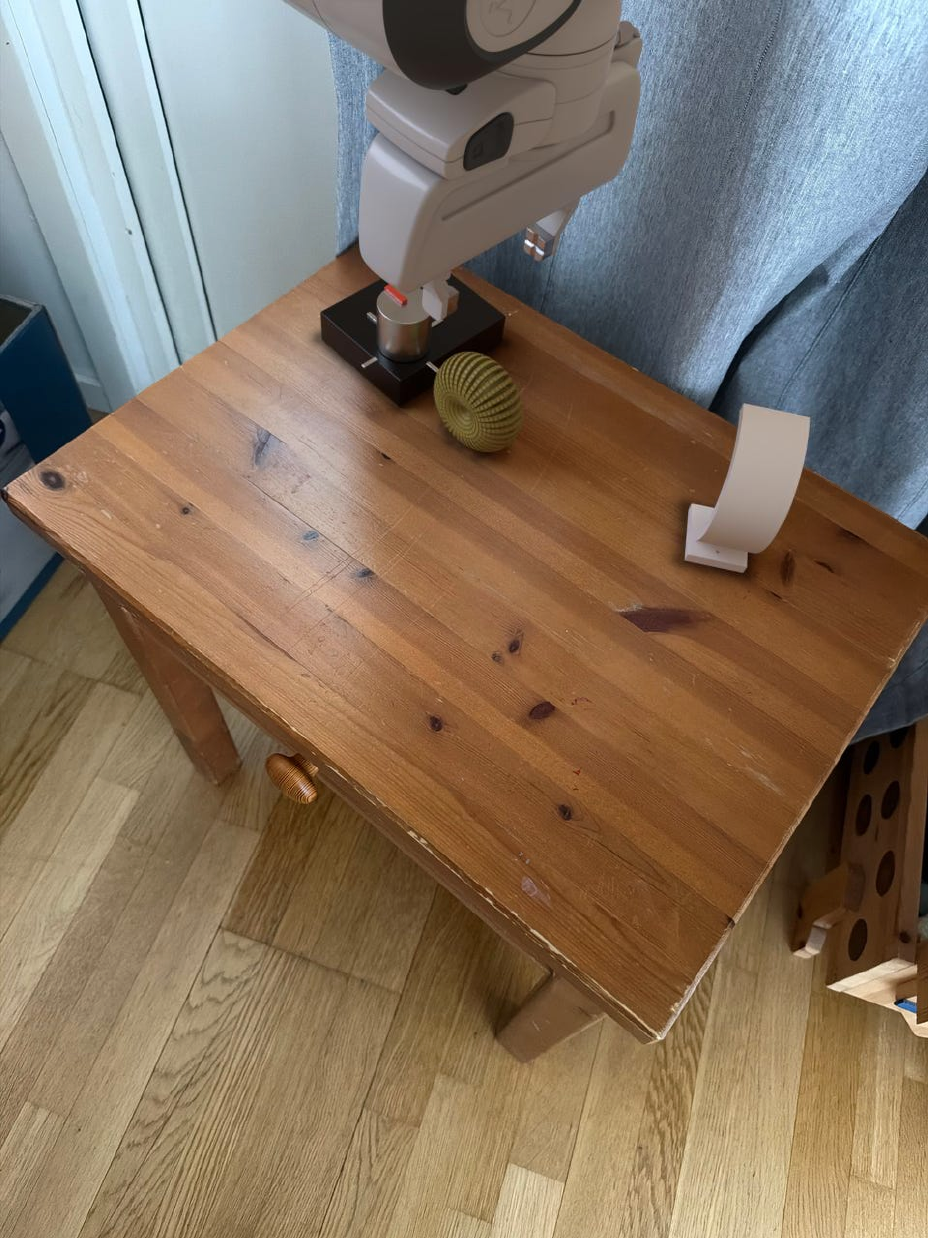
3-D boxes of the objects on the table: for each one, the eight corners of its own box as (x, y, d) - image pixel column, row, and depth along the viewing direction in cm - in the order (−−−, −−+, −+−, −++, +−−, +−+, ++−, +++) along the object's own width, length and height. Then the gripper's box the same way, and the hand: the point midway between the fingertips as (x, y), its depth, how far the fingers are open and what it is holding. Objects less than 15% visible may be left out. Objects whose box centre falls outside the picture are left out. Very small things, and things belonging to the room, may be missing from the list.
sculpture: (420, 421, 73) (426, 347, 66) (455, 397, 75) (464, 322, 68) (491, 479, 71) (504, 409, 64) (525, 453, 72) (541, 382, 65)
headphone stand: (745, 521, 71) (810, 417, 61) (742, 584, 68) (810, 485, 58) (688, 509, 71) (743, 402, 61) (682, 571, 68) (740, 470, 58)
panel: (398, 424, 73) (399, 397, 70) (309, 346, 76) (307, 316, 73) (512, 351, 78) (517, 322, 75) (424, 280, 81) (426, 251, 79)
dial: (441, 346, 73) (445, 304, 69) (401, 370, 71) (402, 328, 68) (405, 316, 75) (407, 273, 71) (365, 339, 73) (365, 296, 69)
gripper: (606, -14, 53) (560, 198, 65) (339, 99, 44) (343, 319, 56) (689, 36, 51) (626, 245, 63) (426, 164, 42) (410, 377, 54)
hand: (490, 281), depth 59 cm, fingers open, 8 cm apart
